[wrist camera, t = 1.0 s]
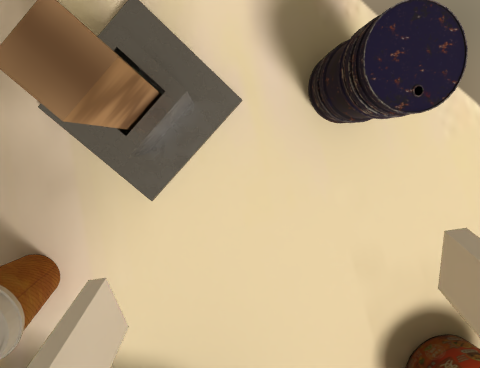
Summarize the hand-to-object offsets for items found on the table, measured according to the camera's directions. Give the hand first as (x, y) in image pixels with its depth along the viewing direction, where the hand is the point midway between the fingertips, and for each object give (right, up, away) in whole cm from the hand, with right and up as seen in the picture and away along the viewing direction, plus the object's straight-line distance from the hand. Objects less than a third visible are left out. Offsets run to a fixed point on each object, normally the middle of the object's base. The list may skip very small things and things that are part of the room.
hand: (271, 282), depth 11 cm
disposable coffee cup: (-30, -9, +29) cm, 42 cm away
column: (-14, +14, +25) cm, 31 cm away
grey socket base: (-14, +14, +27) cm, 33 cm away
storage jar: (+13, +17, +29) cm, 36 cm away
